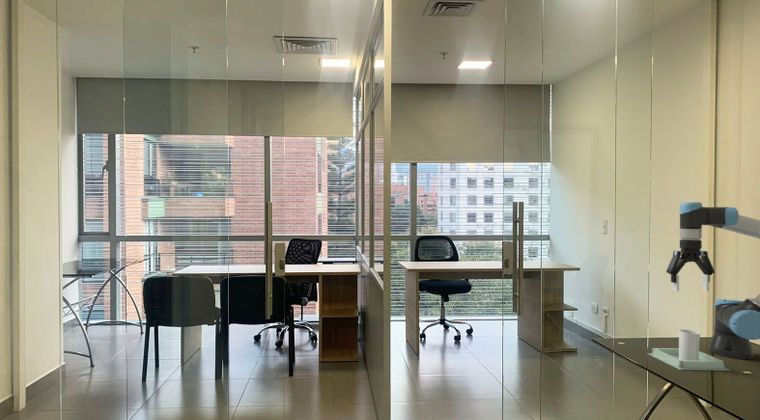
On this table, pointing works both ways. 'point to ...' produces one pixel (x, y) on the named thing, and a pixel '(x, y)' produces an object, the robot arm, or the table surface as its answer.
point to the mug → (689, 345)
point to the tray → (703, 361)
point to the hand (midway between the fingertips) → (690, 290)
